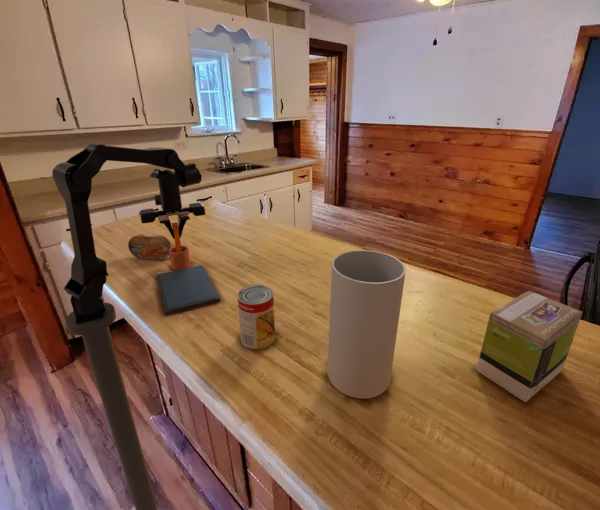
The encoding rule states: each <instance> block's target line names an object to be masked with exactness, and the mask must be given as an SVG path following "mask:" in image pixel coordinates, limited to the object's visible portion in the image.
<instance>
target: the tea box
mask: <svg viewBox="0 0 600 510" xmlns="http://www.w3.org/2000/svg"><path fill="white" fill-rule="evenodd" d="M583 312H584V311H582V310H579V309H577V308H574V307H572V306H569V305H567V304H564V303H561V302H560V301H556V300H554V299H552V298H549V297H547V296H544V295H542V294H539V293H537V292H534V291H532V290H528V291H526V292H524V293H522V294H520V295H518V296H517V297H515V298H513V299H511V300H510V301H508V302H506V303H504V304H503V305H501V306H499V307H497V308H496V309H494V310H493V311H491V312H490V313H489V316H488V319H487V323H486V329H485V332H484V335H483V336H484V337H483V340H482V345H481V349H480V353H479V358H478V361H477V366H476V371H477V372H478V373H480V374H481V375H483V376H484V377H485V378H487V379H489V380H490V381H492V382H493V383H495V384H496V385H498V386H499V387H501V388H502V389H504V390H505V391H507V392H508V393H510V394H512V395H513V396H514V397H515V398H517V399H519V400H520V401H522V402H524V403H527V402H528V401H529V400H531V399H532V398H533V397H534V396H535V395H536V394H537V393H538V392H539V391H541V390H542V389H543V388H545V386H546V385H547V384H549V383H550V382H551V381H552V380H553V379H555V377H557V376H558V375H559V374H560V373H561V372H562V371H563V370H564V366H565V364H566V361H567V359H568V355H569V352H570V350H571V347H572V344H573V341H574V338H575V336H576V332H577V329H578V326H579V325H580V322H581V319H582V316H583Z"/></svg>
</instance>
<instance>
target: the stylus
mask: <svg viewBox="0 0 600 510" xmlns="http://www.w3.org/2000/svg"><path fill="white" fill-rule="evenodd" d="M171 226H172V229H173V233H174V239H173V240H174V247H175V248H176V253H180V252H182V250H181V246H182V244H181V238H180V236H179V229H178V221H177V222H176V221H175V222H171Z"/></svg>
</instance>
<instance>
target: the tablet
mask: <svg viewBox="0 0 600 510" xmlns="http://www.w3.org/2000/svg"><path fill="white" fill-rule="evenodd" d="M156 278H157V282H158V287H159V291H160V296H161V300H162V304H163V307H164V312H165V316H168V315H172V314H176V313H180V312H184V311H185V312H186V311H189V310H193V309H196V308H201V307H204V306H208V305H213V304H216V303H219V302H221V298H220V295H219V294H218V292H217V290H216V288H215V286H214V285H213V282H212V281H211V279H210V277H209V275H208V272H207V271H206V270H205V267H204V265H203V264H200V265H195V266H190V267H188V268H185V269H181V270H170V271H167V272H161V273H157V274H156Z"/></svg>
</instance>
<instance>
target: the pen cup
mask: <svg viewBox="0 0 600 510" xmlns="http://www.w3.org/2000/svg"><path fill="white" fill-rule="evenodd" d="M171 247H172V246H171ZM181 250H182V252H180V253H176V248H175V246H173V247H172V248H171V249H169V261H170V268H171V269H172V270H173V271H176V270H181V269H185V268H190V267H192V266H191V265H192V263H191V262H192V261H191V254H190V248H189V246H187V245H181Z"/></svg>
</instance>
